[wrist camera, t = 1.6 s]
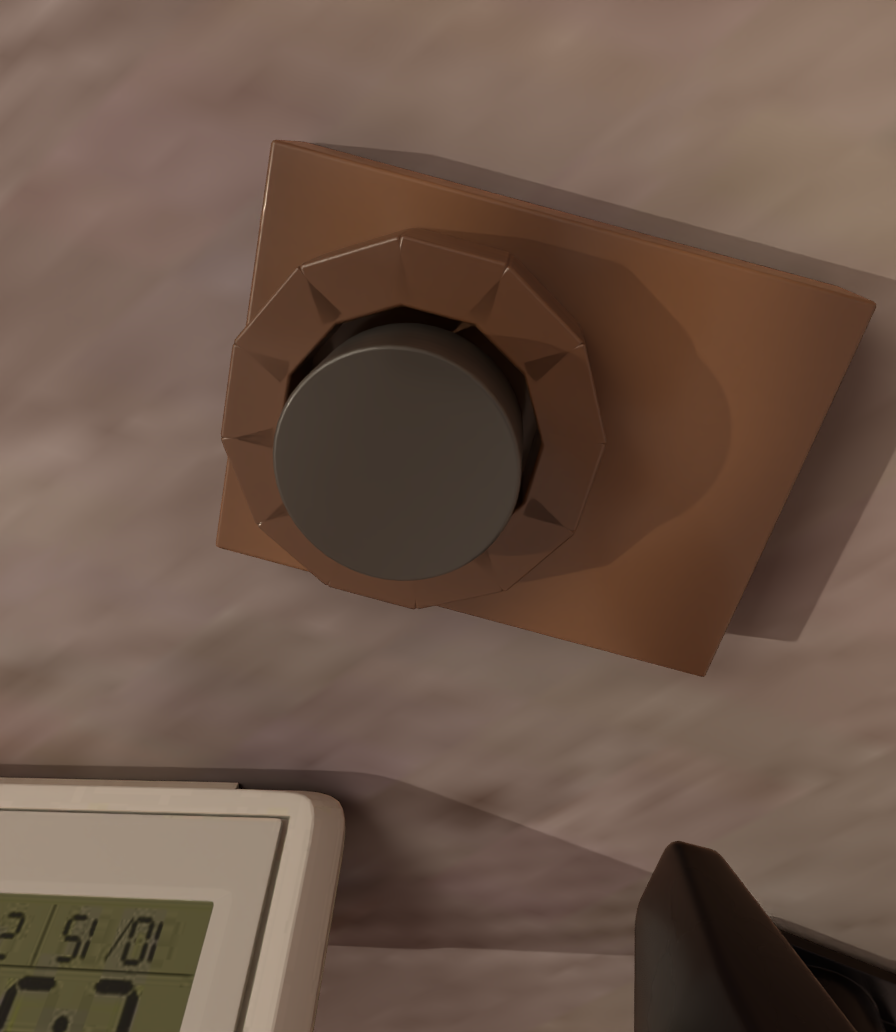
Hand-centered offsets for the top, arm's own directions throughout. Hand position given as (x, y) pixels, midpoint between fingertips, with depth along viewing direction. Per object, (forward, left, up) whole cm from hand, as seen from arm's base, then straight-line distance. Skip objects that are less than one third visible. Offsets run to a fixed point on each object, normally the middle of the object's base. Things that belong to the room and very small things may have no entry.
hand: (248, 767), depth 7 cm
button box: (-2, 0, -13) cm, 13 cm away
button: (0, 0, -9) cm, 10 cm away
